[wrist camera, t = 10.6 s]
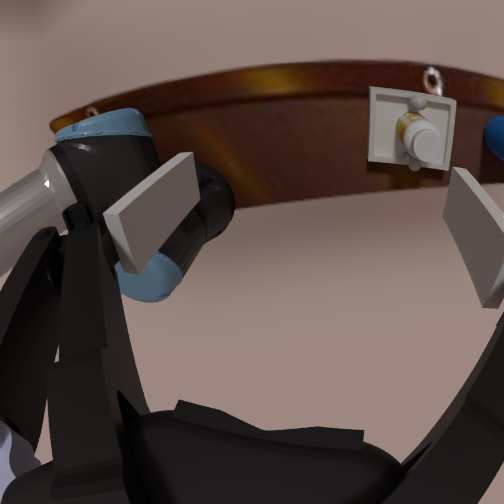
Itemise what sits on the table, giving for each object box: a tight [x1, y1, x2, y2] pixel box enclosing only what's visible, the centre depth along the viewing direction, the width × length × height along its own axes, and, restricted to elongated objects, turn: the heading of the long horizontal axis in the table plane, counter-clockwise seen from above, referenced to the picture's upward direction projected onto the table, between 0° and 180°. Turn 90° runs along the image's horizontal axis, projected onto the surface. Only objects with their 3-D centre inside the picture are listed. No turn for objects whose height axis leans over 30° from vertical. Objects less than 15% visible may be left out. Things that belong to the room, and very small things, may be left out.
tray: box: [367, 87, 456, 171], centre depth 37 cm, size 13×11×5 cm
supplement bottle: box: [396, 111, 443, 163], centre depth 34 cm, size 5×5×10 cm
